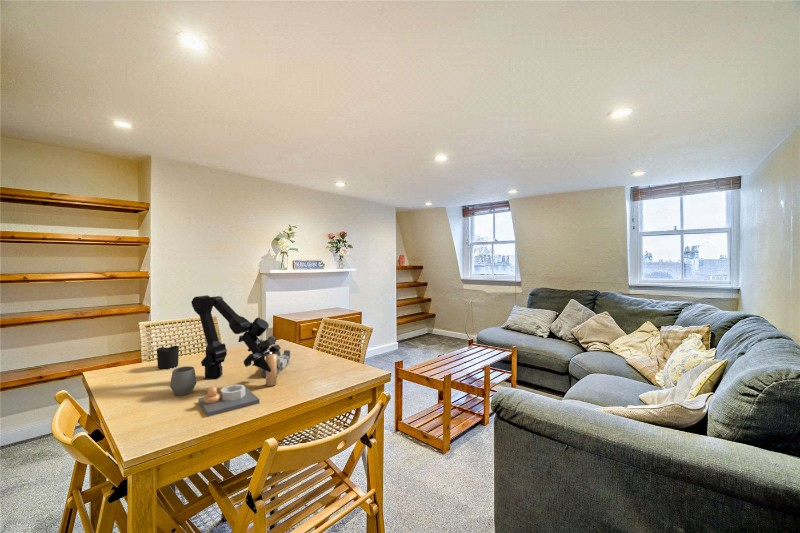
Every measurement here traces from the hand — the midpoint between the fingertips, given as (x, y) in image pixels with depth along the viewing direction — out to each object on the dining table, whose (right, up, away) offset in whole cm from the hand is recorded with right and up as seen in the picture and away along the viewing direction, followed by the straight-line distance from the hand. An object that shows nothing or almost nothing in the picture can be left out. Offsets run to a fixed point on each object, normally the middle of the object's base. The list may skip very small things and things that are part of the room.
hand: (273, 369), depth 152 cm
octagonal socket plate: (-11, -7, -18) cm, 23 cm away
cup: (-35, -7, -9) cm, 36 cm away
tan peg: (-1, -7, +1) cm, 7 cm away
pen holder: (-63, -6, +24) cm, 68 cm away
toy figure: (-8, -7, +26) cm, 29 cm away
